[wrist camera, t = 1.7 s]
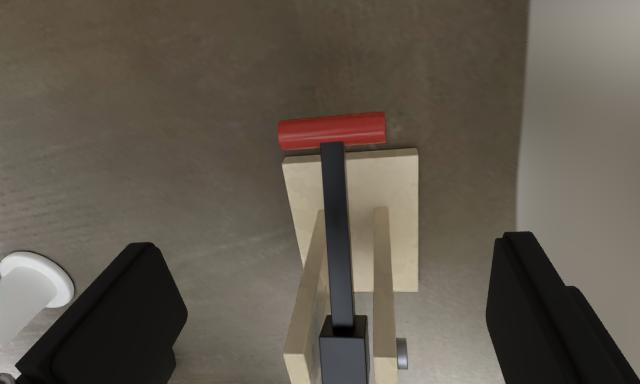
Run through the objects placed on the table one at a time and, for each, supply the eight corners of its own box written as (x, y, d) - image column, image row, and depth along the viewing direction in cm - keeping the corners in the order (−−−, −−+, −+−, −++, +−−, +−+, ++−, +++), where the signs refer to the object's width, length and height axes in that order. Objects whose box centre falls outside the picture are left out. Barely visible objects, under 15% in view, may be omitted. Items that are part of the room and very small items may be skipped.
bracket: (285, 156, 25) (216, 292, 14) (416, 147, 24) (451, 293, 13) (310, 281, 31) (275, 444, 20) (416, 281, 29) (440, 458, 19)
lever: (287, 122, 19) (272, 118, 16) (384, 114, 18) (384, 108, 15) (304, 362, 20) (293, 390, 17) (396, 366, 19) (398, 396, 16)
